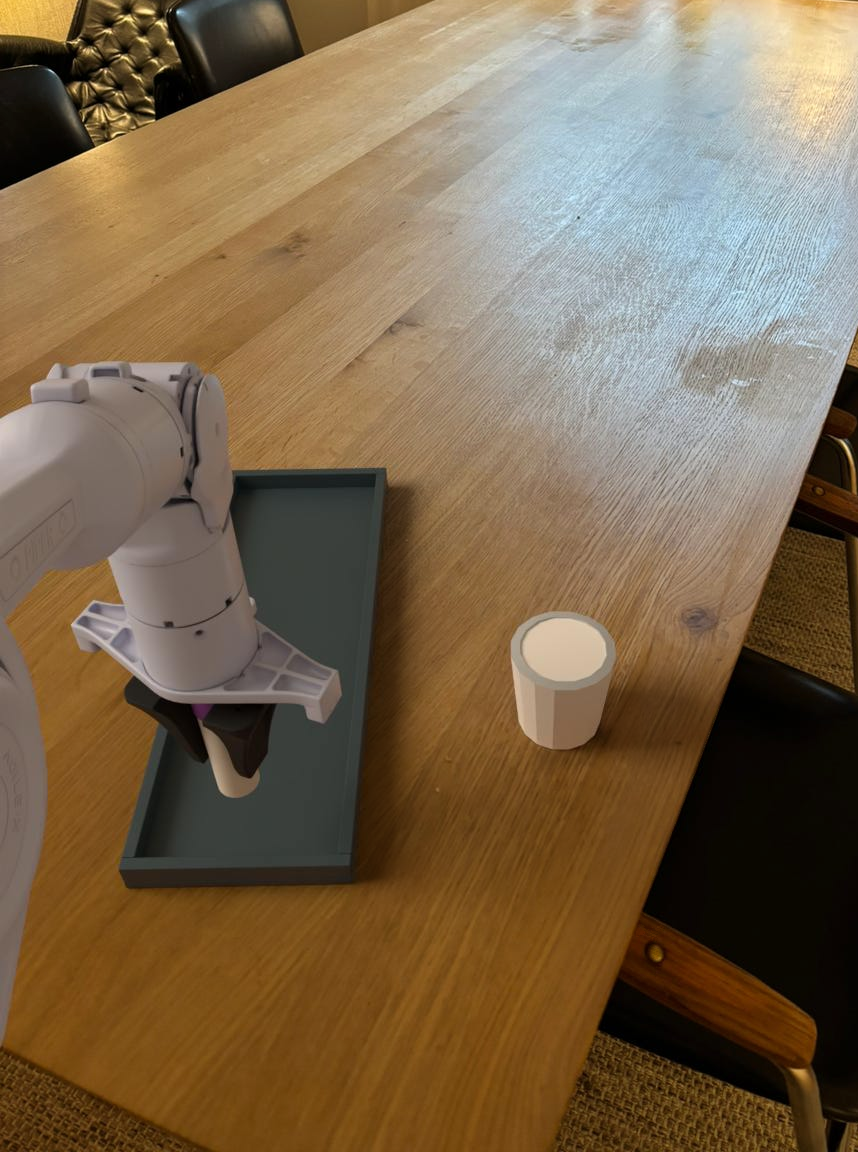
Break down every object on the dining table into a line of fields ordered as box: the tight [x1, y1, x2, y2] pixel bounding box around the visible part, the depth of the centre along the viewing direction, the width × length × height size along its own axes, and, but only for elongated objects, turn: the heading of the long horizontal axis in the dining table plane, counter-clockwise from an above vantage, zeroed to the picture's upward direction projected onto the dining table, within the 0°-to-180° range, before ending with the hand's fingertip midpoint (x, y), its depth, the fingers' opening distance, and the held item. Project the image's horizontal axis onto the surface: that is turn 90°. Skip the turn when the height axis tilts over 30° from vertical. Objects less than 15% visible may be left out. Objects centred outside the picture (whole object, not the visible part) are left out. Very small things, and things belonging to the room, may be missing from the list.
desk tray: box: [117, 467, 389, 889], centre depth 75 cm, size 38×14×2 cm, turn 1°
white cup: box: [510, 610, 617, 750], centre depth 68 cm, size 7×7×7 cm
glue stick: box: [191, 704, 260, 798], centre depth 57 cm, size 3×3×9 cm
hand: (231, 756), depth 58 cm, fingers closed on glue stick, 2 cm apart
